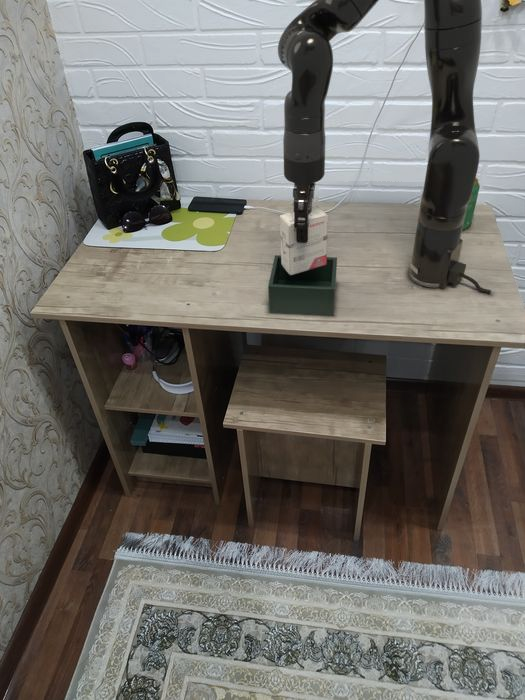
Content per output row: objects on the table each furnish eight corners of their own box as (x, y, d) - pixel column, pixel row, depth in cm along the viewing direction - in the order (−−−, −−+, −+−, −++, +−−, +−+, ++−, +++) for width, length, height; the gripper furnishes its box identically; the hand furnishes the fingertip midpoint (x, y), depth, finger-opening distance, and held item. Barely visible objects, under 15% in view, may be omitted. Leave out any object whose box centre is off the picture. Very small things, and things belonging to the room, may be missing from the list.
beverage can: (462, 214, 148) (471, 170, 140) (476, 230, 142) (486, 185, 134) (433, 218, 147) (440, 174, 139) (445, 234, 141) (454, 189, 133)
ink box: (317, 254, 122) (318, 203, 114) (327, 265, 119) (329, 214, 111) (280, 264, 120) (278, 213, 112) (290, 276, 116) (289, 225, 108)
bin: (335, 283, 128) (337, 257, 124) (333, 316, 120) (334, 289, 115) (275, 281, 130) (274, 255, 125) (269, 312, 122) (268, 286, 117)
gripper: (322, 169, 97) (320, 252, 108) (327, 135, 107) (324, 214, 119) (278, 168, 98) (281, 250, 109) (287, 135, 108) (289, 213, 120)
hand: (303, 231), depth 114 cm, fingers closed on ink box, 7 cm apart
